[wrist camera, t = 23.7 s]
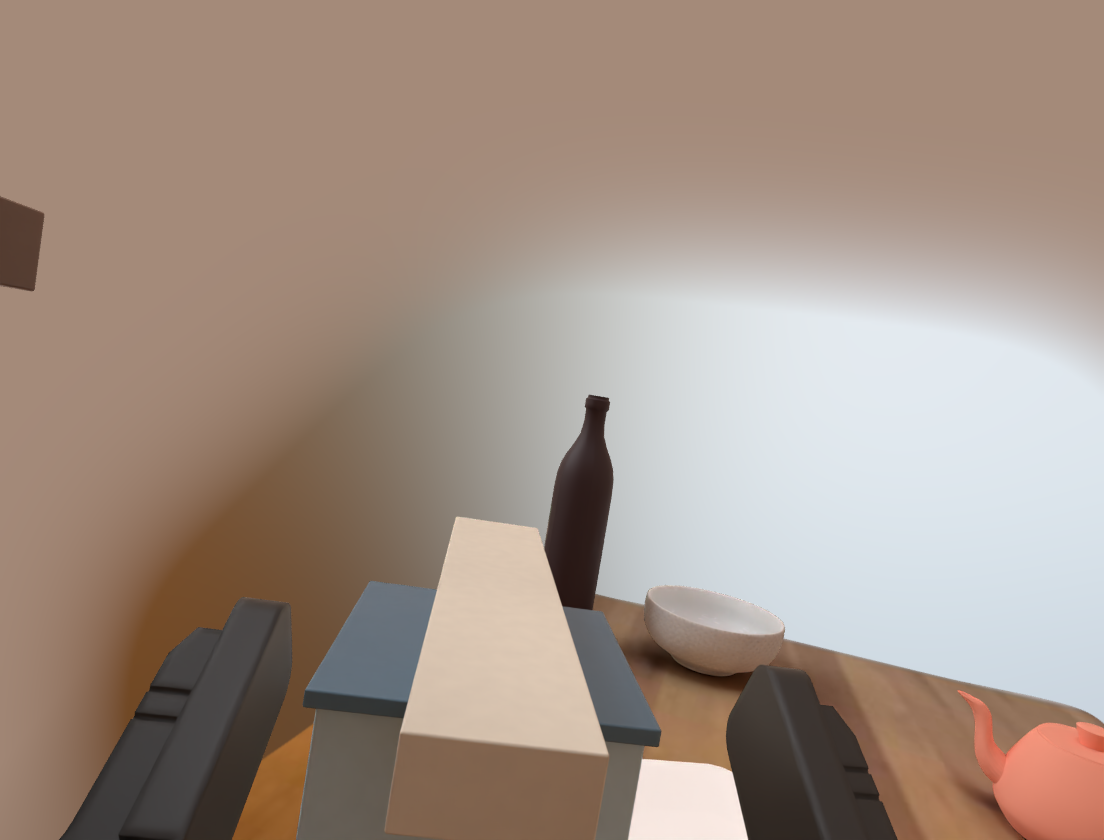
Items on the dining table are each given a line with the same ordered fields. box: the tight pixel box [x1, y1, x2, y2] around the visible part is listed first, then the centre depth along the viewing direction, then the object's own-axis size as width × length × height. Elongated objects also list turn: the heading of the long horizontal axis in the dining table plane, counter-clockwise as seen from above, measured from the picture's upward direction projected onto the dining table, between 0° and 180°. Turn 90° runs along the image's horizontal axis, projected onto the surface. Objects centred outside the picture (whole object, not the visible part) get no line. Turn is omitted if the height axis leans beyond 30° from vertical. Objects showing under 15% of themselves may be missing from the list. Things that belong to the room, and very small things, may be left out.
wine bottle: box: [544, 395, 613, 610], centre depth 82 cm, size 7×7×30 cm
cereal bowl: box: [644, 585, 785, 676], centre depth 82 cm, size 17×17×7 cm
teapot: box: [958, 690, 1104, 840], centre depth 56 cm, size 12×18×10 cm
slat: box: [384, 517, 609, 840], centre depth 23 cm, size 4×20×2 cm, turn 5°
